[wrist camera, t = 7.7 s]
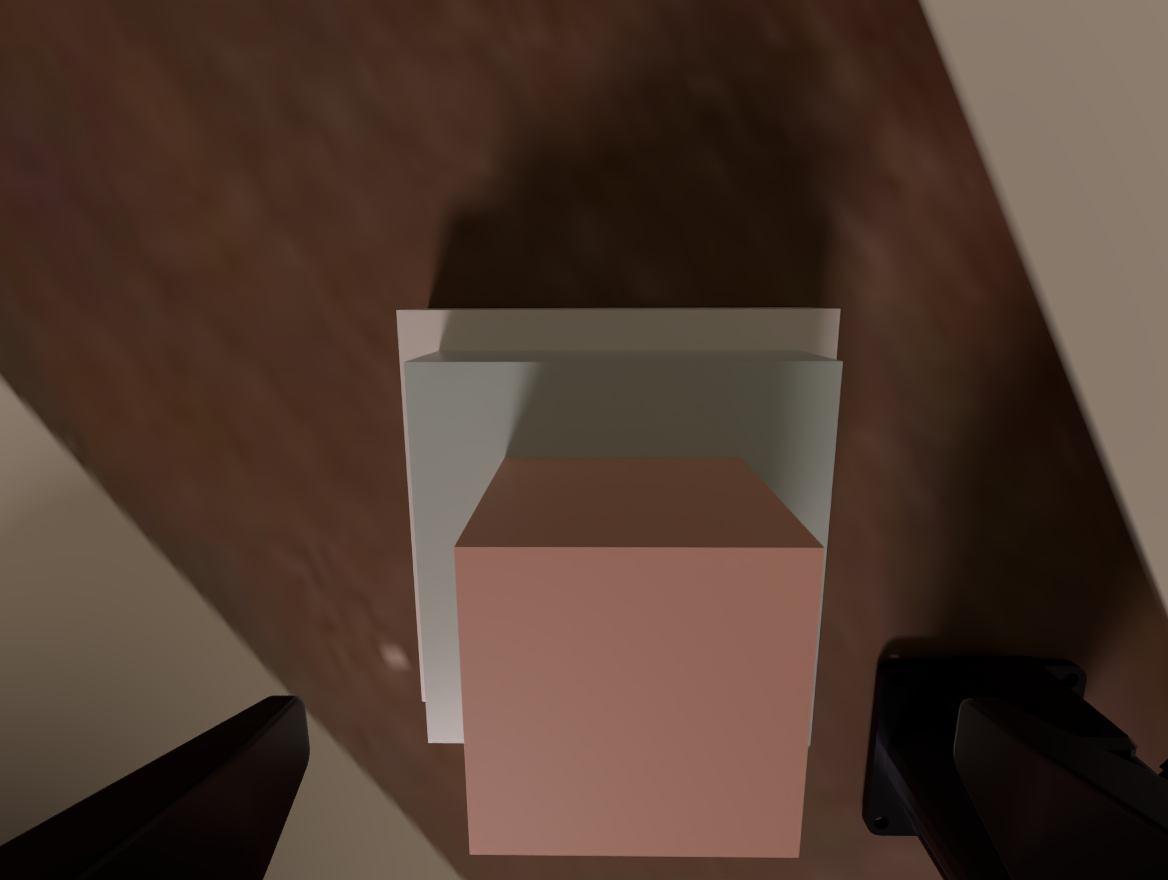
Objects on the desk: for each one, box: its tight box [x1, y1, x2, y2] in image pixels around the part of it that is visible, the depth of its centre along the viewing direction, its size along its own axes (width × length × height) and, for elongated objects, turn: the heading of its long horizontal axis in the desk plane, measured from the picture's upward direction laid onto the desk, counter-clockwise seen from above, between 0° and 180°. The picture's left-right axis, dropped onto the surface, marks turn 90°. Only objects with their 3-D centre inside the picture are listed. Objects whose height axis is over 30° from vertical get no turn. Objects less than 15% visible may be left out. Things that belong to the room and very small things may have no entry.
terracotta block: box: [454, 457, 825, 858], centre depth 12 cm, size 5×5×5 cm
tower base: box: [396, 307, 843, 746], centre depth 17 cm, size 11×11×6 cm
